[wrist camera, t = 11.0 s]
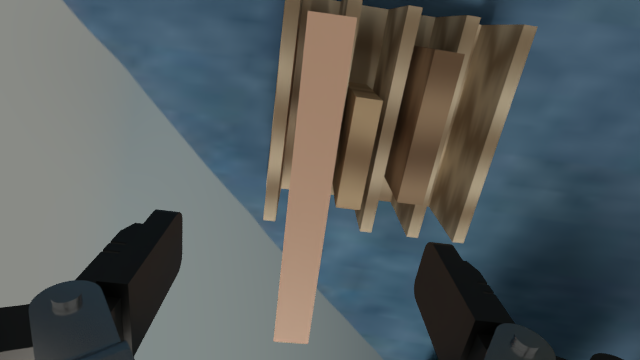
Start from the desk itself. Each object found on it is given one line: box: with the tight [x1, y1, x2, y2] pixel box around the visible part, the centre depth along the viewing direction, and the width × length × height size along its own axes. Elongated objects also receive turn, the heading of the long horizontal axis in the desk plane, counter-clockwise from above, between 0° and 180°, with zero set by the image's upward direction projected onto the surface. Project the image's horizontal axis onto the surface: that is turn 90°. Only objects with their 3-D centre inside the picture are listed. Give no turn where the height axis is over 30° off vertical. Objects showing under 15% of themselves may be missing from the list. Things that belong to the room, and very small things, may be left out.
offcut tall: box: [384, 45, 465, 206], centre depth 31 cm, size 11×2×10 cm, turn 172°
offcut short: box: [332, 82, 383, 210], centre depth 32 cm, size 9×2×8 cm, turn 172°
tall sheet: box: [274, 11, 357, 344], centre depth 25 cm, size 14×2×22 cm, turn 173°
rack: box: [263, 0, 537, 243], centre depth 33 cm, size 18×19×8 cm
